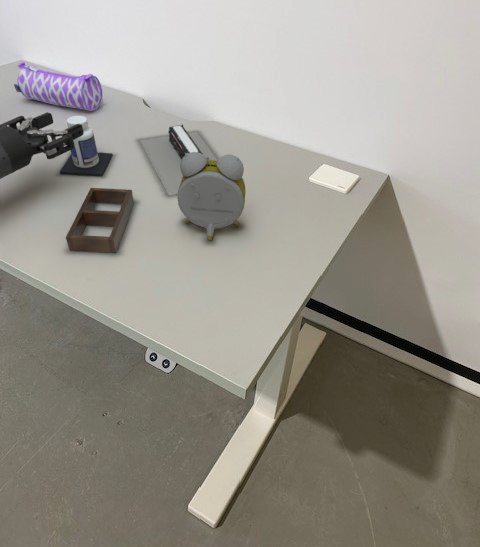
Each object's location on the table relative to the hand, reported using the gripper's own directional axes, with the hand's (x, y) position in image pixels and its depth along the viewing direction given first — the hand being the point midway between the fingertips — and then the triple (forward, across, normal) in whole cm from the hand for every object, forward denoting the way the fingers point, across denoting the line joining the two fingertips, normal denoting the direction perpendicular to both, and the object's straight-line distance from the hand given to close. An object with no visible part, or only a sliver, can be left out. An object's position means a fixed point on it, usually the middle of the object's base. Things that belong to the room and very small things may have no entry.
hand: (66, 122), depth 84 cm
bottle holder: (-11, -18, +10) cm, 24 cm away
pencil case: (+22, +28, +11) cm, 37 cm away
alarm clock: (-1, -36, +11) cm, 37 cm away
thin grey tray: (+17, -16, +11) cm, 26 cm away
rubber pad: (+3, 0, +10) cm, 11 cm away
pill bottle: (+3, 0, +10) cm, 10 cm away
